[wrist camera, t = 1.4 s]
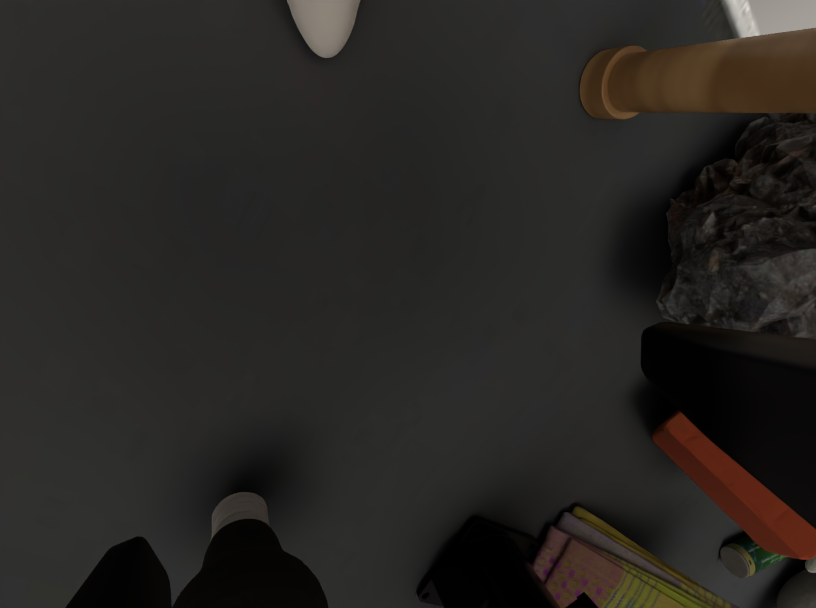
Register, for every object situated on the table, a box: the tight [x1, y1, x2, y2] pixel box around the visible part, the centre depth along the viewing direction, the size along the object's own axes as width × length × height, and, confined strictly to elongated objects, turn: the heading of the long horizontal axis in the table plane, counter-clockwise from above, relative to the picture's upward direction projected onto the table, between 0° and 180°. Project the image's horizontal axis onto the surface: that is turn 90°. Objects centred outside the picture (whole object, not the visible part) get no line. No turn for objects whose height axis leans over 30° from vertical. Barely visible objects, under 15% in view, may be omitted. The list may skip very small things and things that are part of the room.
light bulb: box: [172, 492, 328, 608], centre depth 19 cm, size 6×6×10 cm
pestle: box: [580, 28, 816, 119], centre depth 17 cm, size 3×3×12 cm
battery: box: [720, 535, 787, 578], centre depth 44 cm, size 3×3×10 cm
